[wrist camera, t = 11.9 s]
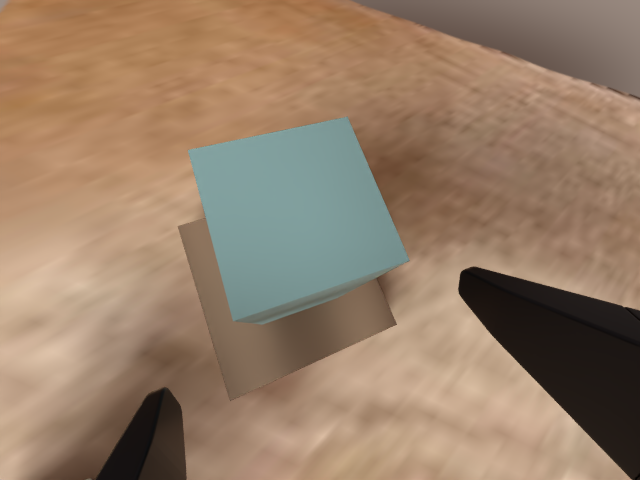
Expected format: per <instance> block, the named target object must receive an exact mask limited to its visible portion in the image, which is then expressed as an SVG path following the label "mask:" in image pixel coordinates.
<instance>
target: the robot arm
mask: <svg viewBox="0 0 640 480" xmlns="http://www.w3.org/2000/svg"><path fill="white" fill-rule="evenodd" d="M458 291H459V294H460V296H461V298H462V299H463V300H464V301H465V303H466V304H467V305H468V306H469V308H470V309H471V310H472V311H473V313H474V314H475V315H476V316H477V317H478V319H479V320H480V321H481V322H482V324H483V325H484V326H485V327H486V329H487V330H488V331H489V332H490V333H491V335H492V336H493V337H494V338H495V339H496V340H497V341H498V342H499V343H500V344H501V345H502V346H503V347H504V348H505V349H506V350H507V351H508V352H509V353H510V355H511V356H512V357H513V358H514V359H515V360H516V361H517V362H518V363H519V364H520V365H521V366H522V367H523V368H524V369H525V370H526V371H527V372H528V373H529V374H530V375H531V376H532V377H533V378H534V379H535V380H536V381H537V382H538V383H539V384H540V385H541V386H542V388H543V389H544V390H545V391H546V392H547V393H548V394H549V395H550V396H551V397H552V398H553V399H554V400H555V401H556V402H557V403H558V404H559V405H560V406H561V407H562V408H563V409H564V410H565V411H566V412H567V413H568V414H569V415H570V416H571V417H572V418H573V419H574V420H575V422H576V423H577V424H578V425H579V426H580V427H581V428H582V429H583V430H584V431H585V432H586V433H587V434H588V435H589V436H590V437H591V438H592V439H593V440H594V441H595V442H596V443H597V444H598V445H599V446H600V447H601V448H602V449H603V450H604V451H605V452H606V453H607V455H608V456H609V457H610V458H611V459H612V460H613V461H614V462H615V463H616V464H617V465H618V466H619V467H620V468H621V469H622V470H623V471H624V472H625V473H626V474H627V475H628V476H629V477H630V478H631V479H632V480H640V310H636V309H632V308H628V307H623V306H621V305H617V304H613V303H609V302H606V301H602V300H598V299H594V298H591V297H587V296H583V295H580V294H576V293H572V292H568V291H565V290H561V289H557V288H553V287H550V286H546V285H542V284H538V283H535V282H531V281H527V280H523V279H520V278H516V277H512V276H508V275H505V274H501V273H497V272H493V271H490V270H486V269H482V268H478V267H470V268H467V269H465V270H463V271H462V272H461V274H460V280H459V287H458ZM95 480H186V461H185V447H184V433H183V419H182V410H181V406H180V404H179V403H178V401H177V400H176V398H175V397H174V396H173V394H172V393H171V392H170V390H169V389H168V388H166V387H164V388H161V389H158V390H155V391H153V392H151V393H149V394H148V395H147V396H146V397H145V399H144V400H143V402H142V404H141V405H140V407H139V409H138V410H137V412H136V413H135V415H134V417H133V418H132V420H131V422H130V423H129V425H128V427H127V428H126V430H125V431H124V433H123V435H122V436H121V438H120V440H119V441H118V443H117V444H116V446H115V448H114V449H113V451H112V453H111V454H110V456H109V457H108V459H107V461H106V462H105V464H104V466H103V467H102V469H101V470H100V472H99V474H98V475H97V477H96V479H95Z"/></svg>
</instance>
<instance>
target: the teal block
mask: <svg viewBox="0 0 640 480" xmlns="http://www.w3.org/2000/svg"><path fill="white" fill-rule="evenodd" d="M188 152H189V156H190V160H191V164H192V167H193V171H194V175H195V179H196V183H197V186H198V190H199V194H200V198H201V201H202V205H203V209H204V213H205V217H206V220H207V224H208V228H209V232H210V236H211V239H212V243H213V247H214V251H215V255H216V258H217V262H218V266H219V270H220V274H221V277H222V281H223V285H224V289H225V293H226V296H227V300H228V304H229V308H230V312H231V315H232V319H233V321H236V322H244V323H253V324H261V325H263V324H265V323H268V322H271V321H274V320H277V319H280V318H282V317H285V316H288V315H291V314H294V313H296V312H299V311H302V310H305V309H308V308H311V307H313V306H316V305H319V304H322V303H325V302H328V301H330V300H333V299H336V298H338V297H340V296H342V295H344V294H346V293H348V292H350V291H352V290H354V289H356V288H358V287H360V286H361V285H363V284H365V283H367V282H369V281H371V280H373V279H375V278H377V277H379V276H381V275H383V274H385V273H387V272H388V271H390V270H392V269H394V268H396V267H398V266H400V265H402V264H404V263H406V262H408V261H410V260H409V258H408V256H407V253H406V251H405V249H404V246H403V244H402V242H401V239H400V237H399V235H398V232H397V230H396V228H395V225H394V223H393V221H392V219H391V216H390V214H389V212H388V209H387V207H386V205H385V202H384V200H383V198H382V195H381V193H380V191H379V189H378V186H377V184H376V182H375V179H374V177H373V175H372V172H371V170H370V168H369V165H368V163H367V161H366V159H365V156H364V154H363V152H362V149H361V147H360V145H359V142H358V140H357V138H356V135H355V133H354V131H353V128H352V126H351V124H350V122H349V119H348V117H344V118H339V119H335V120H330V121H325V122H320V123H315V124H311V125H306V126H301V127H296V128H292V129H287V130H282V131H277V132H272V133H268V134H263V135H258V136H253V137H249V138H244V139H239V140H234V141H229V142H225V143H220V144H215V145H210V146H206V147H201V148H196V149H191V150H188Z"/></svg>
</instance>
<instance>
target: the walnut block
mask: <svg viewBox="0 0 640 480" xmlns="http://www.w3.org/2000/svg"><path fill="white" fill-rule="evenodd" d="M178 229H179V232H180V235H181V239H182V242H183V245H184V249H185V252H186V255H187V259H188V262H189V265H190V269H191V272H192V275H193V279H194V282H195V285H196V289H197V292H198V295H199V299H200V302H201V305H202V309H203V312H204V315H205V319H206V322H207V325H208V329H209V332H210V335H211V339H212V342H213V345H214V349H215V352H216V355H217V359H218V362H219V365H220V369H221V372H222V375H223V379H224V382H225V385H226V389H227V392H228V395H229V399H230V401H231V400H233V399H236V398H238V397H240V396H242V395H244V394H246V393H249V392H251V391H253V390H255V389H257V388H260V387H262V386H264V385H266V384H268V383H270V382H273V381H275V380H277V379H279V378H281V377H284V376H286V375H288V374H290V373H292V372H294V371H297V370H299V369H301V368H303V367H305V366H308V365H310V364H312V363H314V362H316V361H318V360H321V359H323V358H325V357H327V356H329V355H331V354H334V353H336V352H338V351H340V350H342V349H345V348H347V347H349V346H351V345H353V344H355V343H358V342H360V341H362V340H364V339H366V338H369V337H371V336H373V335H375V334H377V333H379V332H382V331H384V330H386V329H388V328H390V327H393V326H395V325H397V324H396V321H395V319H394V317H393V315H392V312H391V310H390V308H389V305H388V303H387V301H386V299H385V296H384V294H383V292H382V290H381V287H380V285H379V283H378V281H377V278H375V279H373V280H371V281H369V282H367V283H365V284H363V285H361V286H360V287H358V288H356V289H354V290H352V291H350V292H348V293H346V294H344V295H342V296H340V297H338V298H336V299H333V300H330V301H328V302H325V303H322V304H319V305H316V306H313V307H311V308H308V309H305V310H302V311H299V312H296V313H294V314H291V315H288V316H285V317H282V318H280V319H277V320H274V321H271V322H268V323H265V324H263V325H261V324H253V323H244V322H236V321H233V319H232V315H231V312H230V308H229V304H228V300H227V296H226V293H225V289H224V285H223V281H222V277H221V274H220V270H219V266H218V262H217V258H216V255H215V251H214V247H213V243H212V239H211V236H210V232H209V228H208V224H207V220H206V218H204V219H200V220H197V221H194V222H190V223H187V224H184V225H181V226H178Z"/></svg>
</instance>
